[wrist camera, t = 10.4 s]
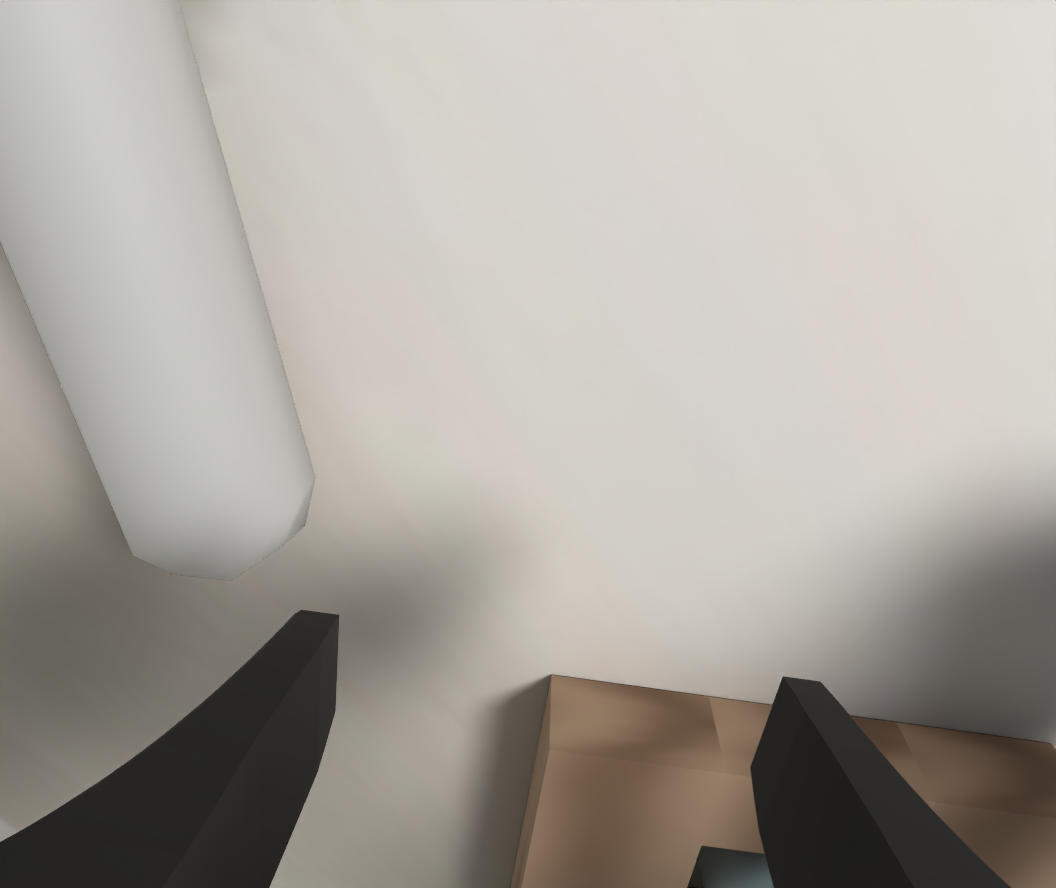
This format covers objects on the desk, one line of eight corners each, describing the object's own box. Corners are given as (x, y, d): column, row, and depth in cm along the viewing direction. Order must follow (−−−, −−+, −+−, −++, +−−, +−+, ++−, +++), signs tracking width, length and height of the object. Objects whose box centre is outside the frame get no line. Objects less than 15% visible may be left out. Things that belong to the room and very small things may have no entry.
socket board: (1051, 743, 25) (1110, 825, 22) (918, 971, 30) (953, 1060, 28) (551, 675, 25) (549, 749, 22) (504, 916, 30) (498, 1001, 27)
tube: (348, 584, 19) (-209, -1366, 8) (115, 648, 18) (-870, -1486, 7) (334, 488, 24) (-32, -834, 13) (148, 534, 23) (-417, -862, 12)
